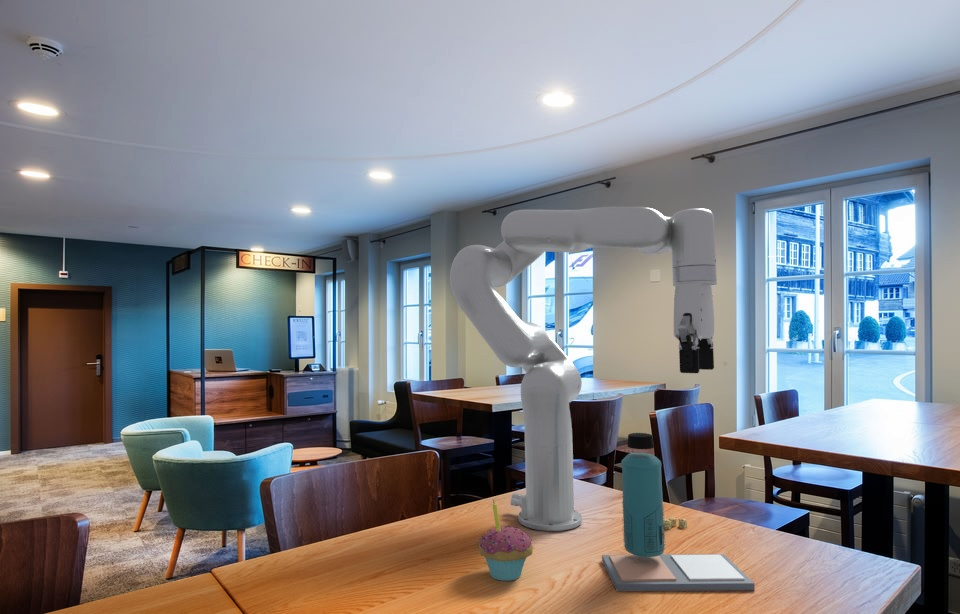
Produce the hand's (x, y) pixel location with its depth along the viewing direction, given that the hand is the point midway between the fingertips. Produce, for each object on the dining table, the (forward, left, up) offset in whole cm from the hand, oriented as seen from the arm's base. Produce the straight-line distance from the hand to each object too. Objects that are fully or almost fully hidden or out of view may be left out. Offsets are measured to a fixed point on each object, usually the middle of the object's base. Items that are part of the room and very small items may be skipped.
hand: (697, 371), depth 105 cm
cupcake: (-22, -31, -31) cm, 49 cm away
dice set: (-8, +5, -31) cm, 33 cm away
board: (0, -17, -30) cm, 35 cm away
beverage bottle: (-5, -17, -29) cm, 34 cm away
